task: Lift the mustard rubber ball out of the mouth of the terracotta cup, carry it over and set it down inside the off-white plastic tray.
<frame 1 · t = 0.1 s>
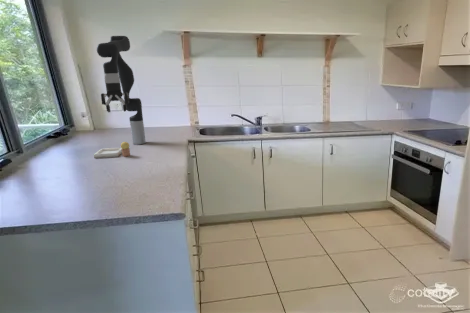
hand: (117, 111, 157), 29 cm above the countertop, fingers open, 8 cm apart
ball: (125, 145, 172), point 7 cm above the countertop, touching cup
tray: (109, 154, 178), on the countertop
cup: (126, 155, 174), on the countertop
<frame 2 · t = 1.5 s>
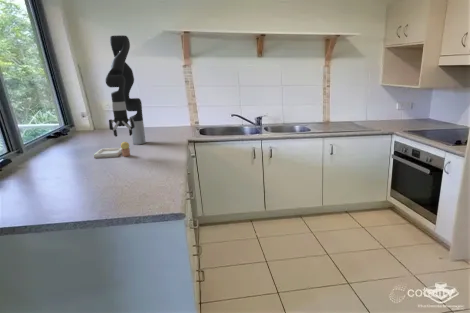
hand: (123, 135, 170), 13 cm above the countertop, fingers open, 8 cm apart
nothing on the countertop moved.
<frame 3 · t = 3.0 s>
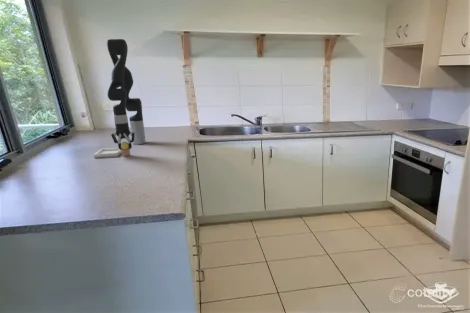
hand: (125, 149, 173), 4 cm above the countertop, fingers closed on ball, 5 cm apart
ball: (125, 145, 172), point 7 cm above the countertop, touching cup, gripper
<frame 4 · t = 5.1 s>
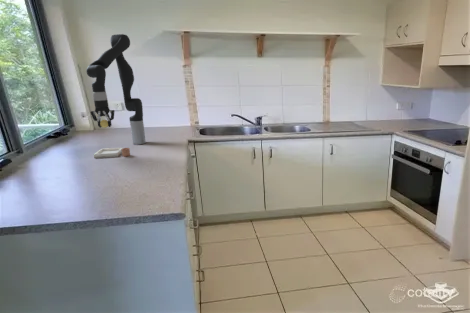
hand: (105, 127, 173), 18 cm above the countertop, fingers closed on ball, 5 cm apart
ball: (104, 123, 173), point 20 cm above the countertop, touching gripper
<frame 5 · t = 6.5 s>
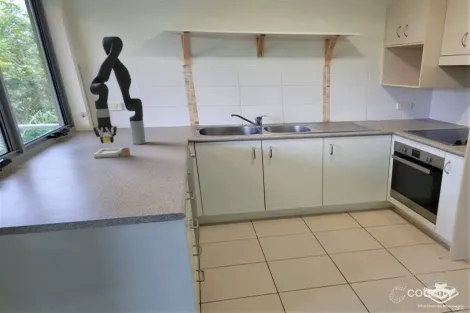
hand: (107, 142, 176), 8 cm above the countertop, fingers closed on ball, 5 cm apart
ball: (107, 139, 175), point 10 cm above the countertop, touching gripper
when the fingers open (3 cm above the countertop, at t = 7.8 s): ball drops 1 cm, resting on tray.
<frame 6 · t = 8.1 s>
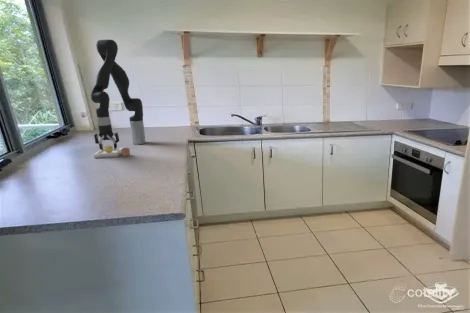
hand: (108, 149, 177), 4 cm above the countertop, fingers open, 8 cm apart
ball: (108, 149, 177), point 3 cm above the countertop, touching tray
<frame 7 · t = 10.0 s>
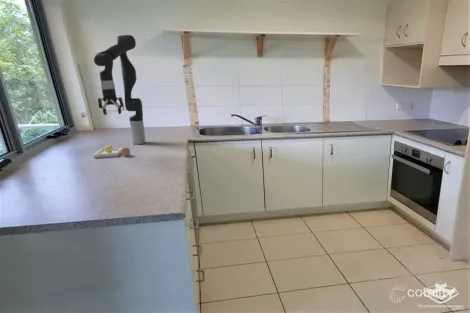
hand: (112, 114, 175), 25 cm above the countertop, fingers open, 8 cm apart
nothing on the countertop moved.
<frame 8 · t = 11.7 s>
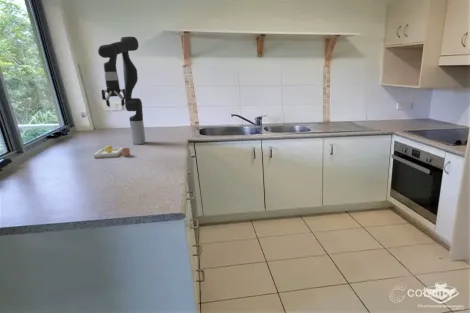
hand: (115, 106, 176), 30 cm above the countertop, fingers open, 8 cm apart
nothing on the countertop moved.
at the end: ball inside the target area on the tray (0.0 cm from its centre), point 3.5 cm above the tray's base; the gripper is holding nothing; ball touching tray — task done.
